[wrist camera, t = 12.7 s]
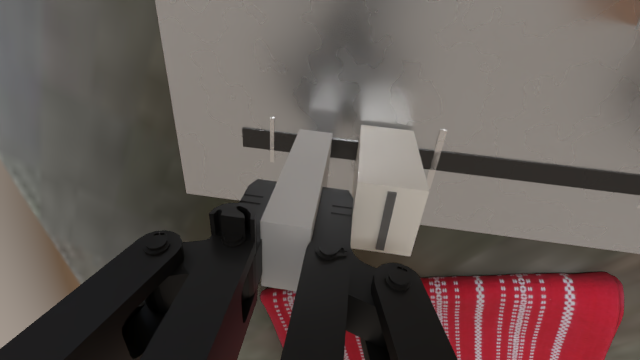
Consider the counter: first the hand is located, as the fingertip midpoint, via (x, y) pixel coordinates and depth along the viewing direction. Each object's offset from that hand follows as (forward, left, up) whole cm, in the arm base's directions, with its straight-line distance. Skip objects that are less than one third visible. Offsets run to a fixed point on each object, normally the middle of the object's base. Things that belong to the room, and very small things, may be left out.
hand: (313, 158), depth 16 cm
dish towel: (+18, +10, -4) cm, 21 cm away
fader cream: (0, +3, -1) cm, 3 cm away
